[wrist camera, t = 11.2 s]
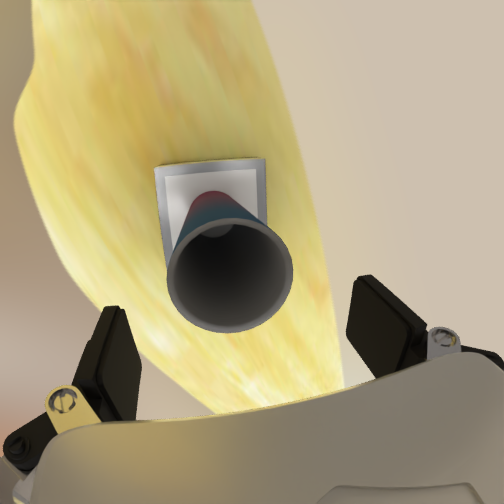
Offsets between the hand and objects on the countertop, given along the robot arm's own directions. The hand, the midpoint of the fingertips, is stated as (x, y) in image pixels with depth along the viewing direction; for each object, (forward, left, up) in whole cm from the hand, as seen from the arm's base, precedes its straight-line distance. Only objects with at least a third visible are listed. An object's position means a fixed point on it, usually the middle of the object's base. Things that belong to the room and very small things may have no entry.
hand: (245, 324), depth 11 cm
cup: (0, 0, -20) cm, 20 cm away
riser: (0, 0, -24) cm, 24 cm away
